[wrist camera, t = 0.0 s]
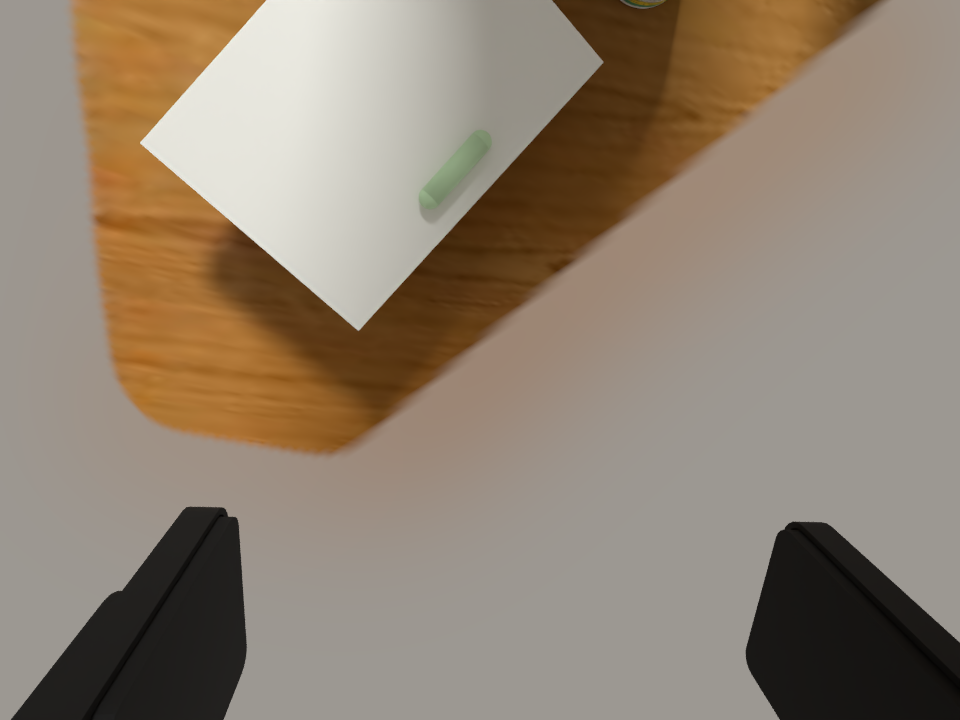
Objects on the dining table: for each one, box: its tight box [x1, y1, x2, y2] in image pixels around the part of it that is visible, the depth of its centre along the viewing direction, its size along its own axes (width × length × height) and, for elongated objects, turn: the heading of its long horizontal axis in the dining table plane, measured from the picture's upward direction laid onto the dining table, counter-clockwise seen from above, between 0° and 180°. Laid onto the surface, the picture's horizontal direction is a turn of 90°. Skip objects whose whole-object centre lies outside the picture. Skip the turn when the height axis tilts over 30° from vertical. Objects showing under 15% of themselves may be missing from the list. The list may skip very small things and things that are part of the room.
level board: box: [140, 0, 604, 331], centre depth 30 cm, size 20×14×3 cm
